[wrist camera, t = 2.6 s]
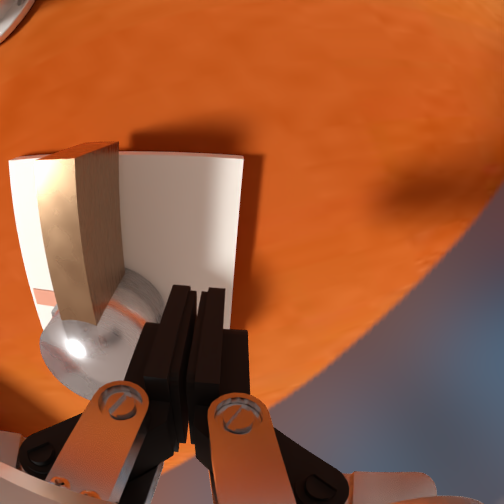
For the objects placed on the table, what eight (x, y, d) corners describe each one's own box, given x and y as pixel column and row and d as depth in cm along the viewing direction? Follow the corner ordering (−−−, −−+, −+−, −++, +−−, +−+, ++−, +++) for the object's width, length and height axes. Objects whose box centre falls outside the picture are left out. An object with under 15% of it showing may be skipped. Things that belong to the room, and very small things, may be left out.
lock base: (19, 156, 19) (7, 160, 18) (243, 155, 21) (243, 159, 19) (69, 374, 29) (64, 384, 28) (224, 394, 31) (224, 406, 30)
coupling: (182, 351, 26) (172, 414, 20) (75, 338, 25) (48, 391, 19) (181, 140, 18) (156, 157, 12) (43, 144, 17) (-18, 165, 11)
